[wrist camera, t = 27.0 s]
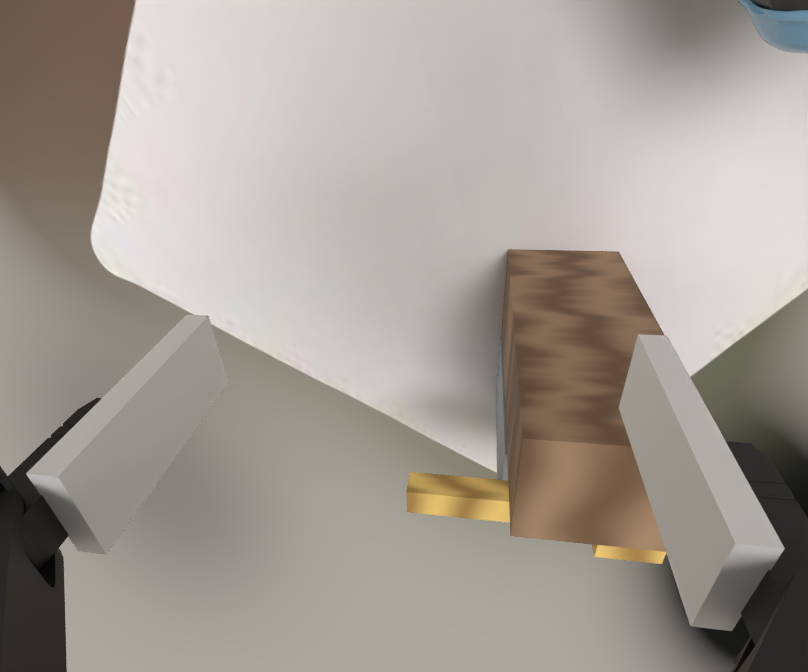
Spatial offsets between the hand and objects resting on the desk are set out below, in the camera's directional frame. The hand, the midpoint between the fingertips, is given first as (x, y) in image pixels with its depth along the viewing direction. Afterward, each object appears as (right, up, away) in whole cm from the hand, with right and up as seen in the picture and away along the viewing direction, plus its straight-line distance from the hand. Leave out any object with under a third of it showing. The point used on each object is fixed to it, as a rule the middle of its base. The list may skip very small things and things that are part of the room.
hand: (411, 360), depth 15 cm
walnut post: (+18, +6, +42) cm, 46 cm away
